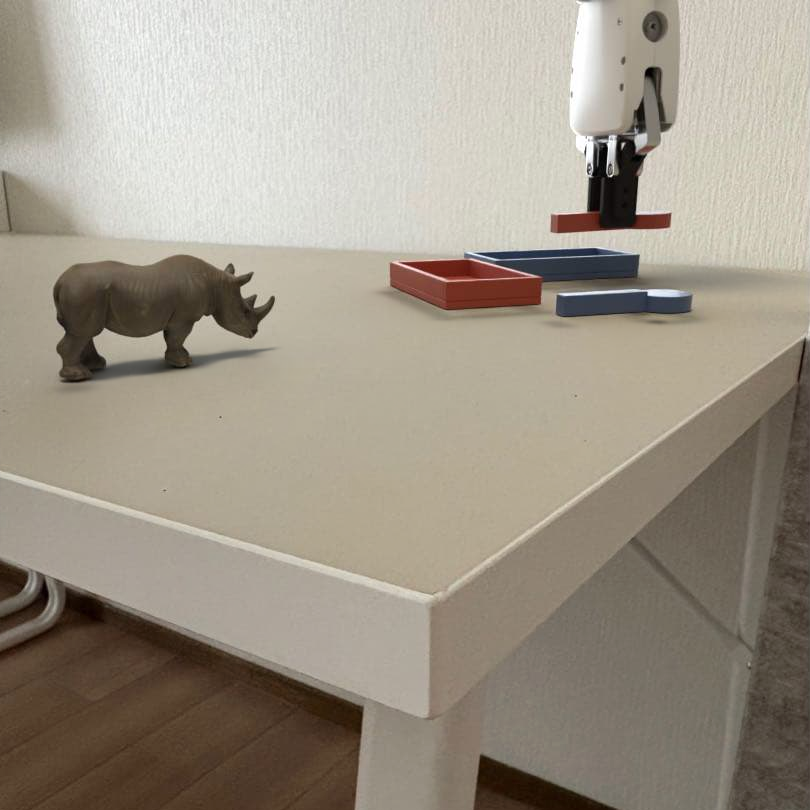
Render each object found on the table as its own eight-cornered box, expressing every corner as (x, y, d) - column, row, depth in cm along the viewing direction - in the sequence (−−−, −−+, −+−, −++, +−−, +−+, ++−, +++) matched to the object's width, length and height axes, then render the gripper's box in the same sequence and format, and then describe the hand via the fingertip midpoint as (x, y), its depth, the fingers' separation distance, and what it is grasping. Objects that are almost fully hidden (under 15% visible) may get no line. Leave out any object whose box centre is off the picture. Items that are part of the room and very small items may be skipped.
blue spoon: (572, 319, 64) (574, 298, 64) (547, 311, 68) (548, 291, 67) (702, 311, 67) (704, 291, 67) (670, 303, 71) (672, 284, 70)
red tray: (389, 285, 82) (389, 261, 81) (471, 281, 84) (472, 258, 83) (445, 309, 69) (446, 281, 68) (541, 304, 71) (542, 277, 70)
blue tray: (596, 267, 94) (598, 247, 93) (638, 276, 86) (640, 254, 86) (463, 273, 89) (463, 252, 89) (495, 284, 82) (496, 260, 81)
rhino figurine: (296, 353, 54) (290, 250, 51) (68, 385, 47) (48, 267, 44) (265, 342, 57) (258, 245, 55) (46, 371, 50) (27, 260, 47)
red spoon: (565, 234, 73) (565, 215, 72) (542, 231, 77) (543, 212, 76) (680, 227, 76) (681, 209, 75) (653, 224, 80) (654, 207, 79)
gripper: (729, -42, 63) (701, 230, 70) (617, -6, 77) (603, 219, 84) (636, -45, 61) (618, 235, 68) (538, -7, 75) (532, 223, 82)
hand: (610, 225), depth 76 cm, fingers closed on red spoon, 1 cm apart
